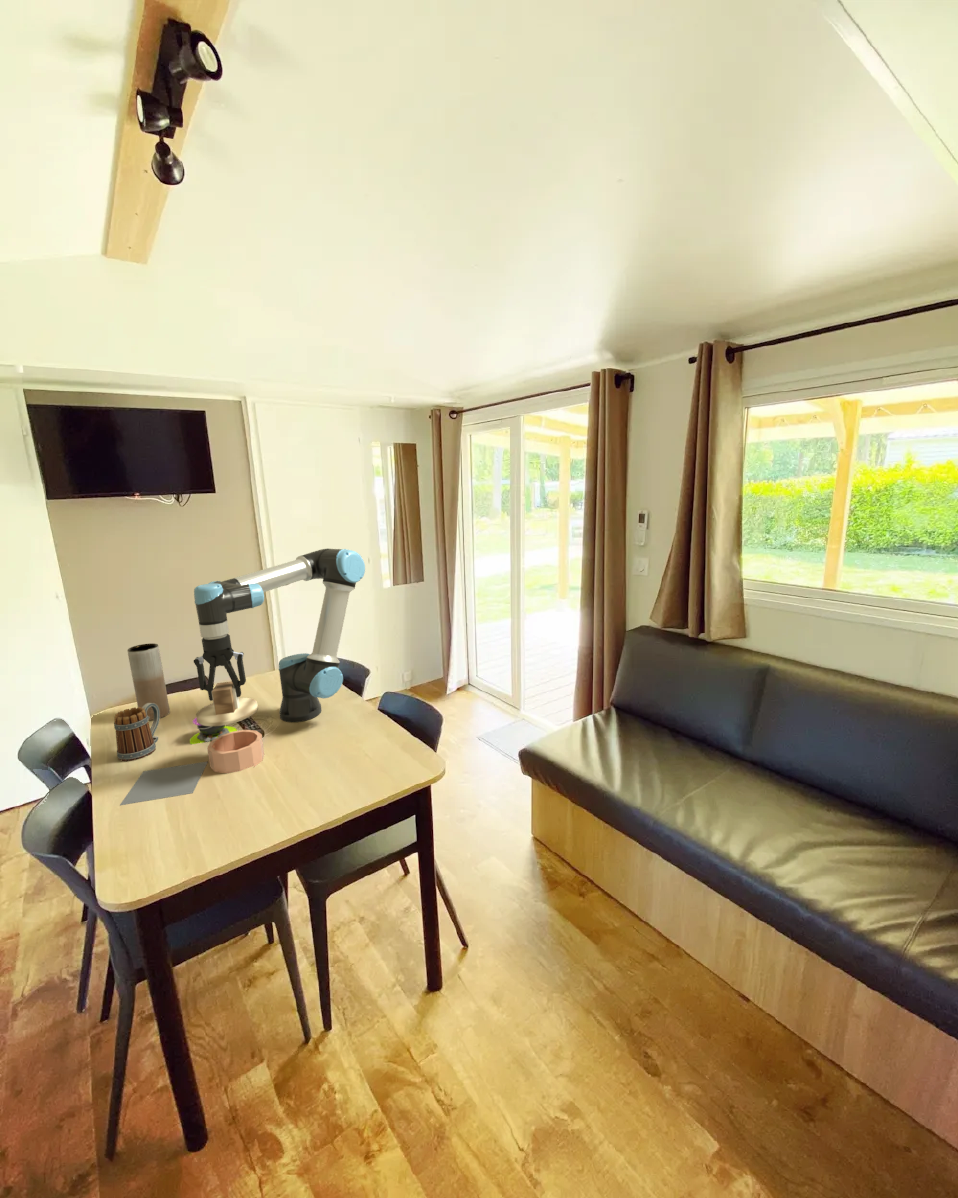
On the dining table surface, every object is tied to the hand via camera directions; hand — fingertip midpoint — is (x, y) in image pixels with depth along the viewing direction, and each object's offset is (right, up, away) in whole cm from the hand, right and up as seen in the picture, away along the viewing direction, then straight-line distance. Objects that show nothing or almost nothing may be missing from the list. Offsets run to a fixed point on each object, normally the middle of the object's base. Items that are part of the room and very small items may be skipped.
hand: (227, 708), depth 155 cm
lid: (0, -2, 0) cm, 2 cm away
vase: (-48, -12, +41) cm, 64 cm away
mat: (-14, -21, -7) cm, 26 cm away
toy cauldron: (-16, -15, +22) cm, 31 cm away
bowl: (+1, -18, +4) cm, 18 cm away
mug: (-34, -17, +13) cm, 41 cm away
